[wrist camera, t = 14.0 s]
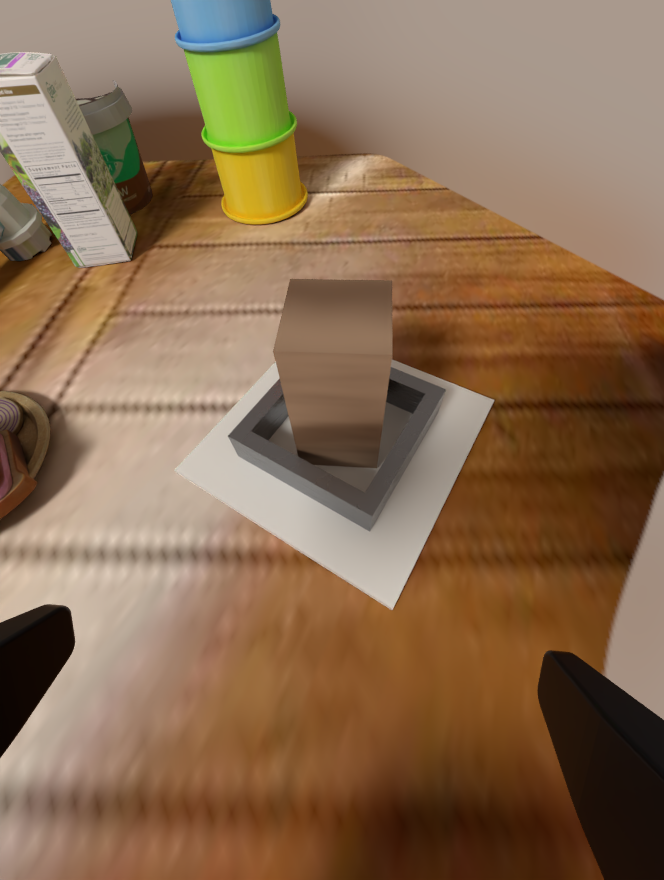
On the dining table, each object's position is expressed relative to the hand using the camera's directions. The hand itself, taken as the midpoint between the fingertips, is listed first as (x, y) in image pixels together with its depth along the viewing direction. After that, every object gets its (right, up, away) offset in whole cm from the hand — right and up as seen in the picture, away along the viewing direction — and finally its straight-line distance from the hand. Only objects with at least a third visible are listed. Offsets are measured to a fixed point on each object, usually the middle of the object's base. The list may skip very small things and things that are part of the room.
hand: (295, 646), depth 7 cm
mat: (+1, +4, +19) cm, 19 cm away
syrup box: (-23, +24, +33) cm, 47 cm away
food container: (-25, +32, +38) cm, 55 cm away
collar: (+1, +4, +19) cm, 19 cm away
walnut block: (+1, +4, +18) cm, 19 cm away
